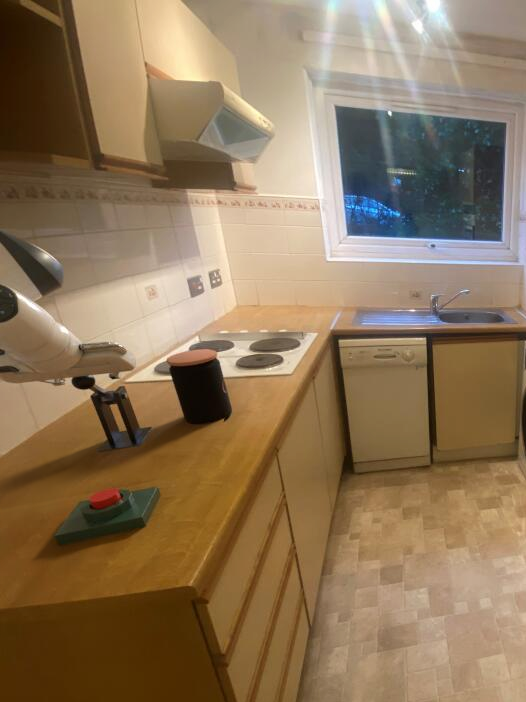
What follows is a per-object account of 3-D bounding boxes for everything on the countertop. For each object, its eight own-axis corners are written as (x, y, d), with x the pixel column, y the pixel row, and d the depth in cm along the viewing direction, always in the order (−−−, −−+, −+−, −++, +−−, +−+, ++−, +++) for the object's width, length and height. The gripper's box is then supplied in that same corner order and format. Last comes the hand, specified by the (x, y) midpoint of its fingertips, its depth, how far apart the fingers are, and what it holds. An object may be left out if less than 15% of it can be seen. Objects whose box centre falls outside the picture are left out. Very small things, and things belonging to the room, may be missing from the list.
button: (88, 512, 76) (84, 504, 75) (97, 499, 79) (94, 491, 79) (117, 506, 78) (113, 498, 77) (124, 493, 81) (121, 485, 80)
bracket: (141, 449, 102) (121, 396, 97) (98, 456, 99) (75, 402, 94) (153, 430, 111) (136, 380, 105) (114, 436, 108) (94, 385, 102)
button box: (58, 546, 73) (49, 527, 72) (83, 510, 82) (75, 493, 80) (145, 526, 78) (138, 508, 76) (161, 495, 86) (154, 478, 85)
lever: (89, 384, 89) (89, 368, 90) (67, 387, 88) (67, 371, 89) (123, 405, 102) (122, 391, 103) (103, 408, 100) (103, 393, 101)
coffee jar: (240, 416, 118) (224, 354, 111) (197, 432, 110) (176, 365, 103) (222, 406, 124) (205, 346, 117) (179, 420, 116) (158, 357, 109)
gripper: (118, 328, 86) (148, 360, 98) (-24, 340, 78) (28, 372, 90) (118, 356, 84) (149, 385, 96) (-28, 371, 76) (25, 400, 88)
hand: (89, 379), depth 93 cm, fingers open, 8 cm apart
